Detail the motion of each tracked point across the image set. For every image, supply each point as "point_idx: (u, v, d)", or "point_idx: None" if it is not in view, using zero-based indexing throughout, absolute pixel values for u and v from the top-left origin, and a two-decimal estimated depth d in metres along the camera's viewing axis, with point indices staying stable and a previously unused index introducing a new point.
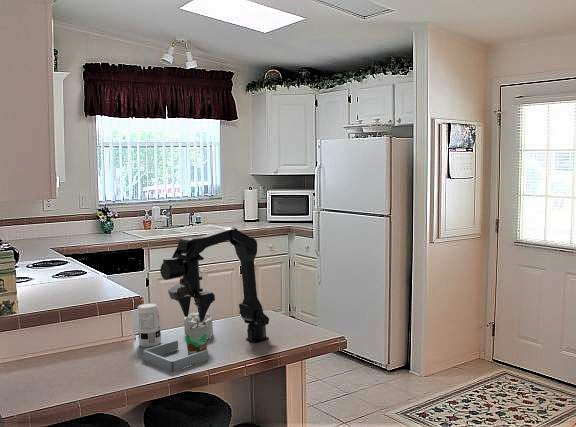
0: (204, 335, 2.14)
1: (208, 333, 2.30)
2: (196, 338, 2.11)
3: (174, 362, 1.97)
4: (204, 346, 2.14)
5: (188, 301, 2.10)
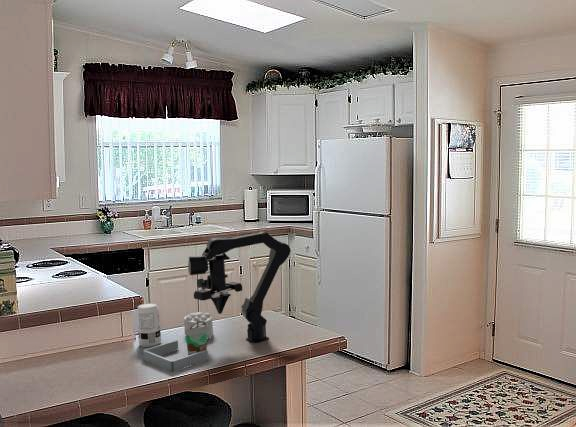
0: (204, 335, 2.14)
1: (208, 333, 2.30)
2: (196, 338, 2.11)
3: (174, 362, 1.97)
4: (204, 346, 2.14)
5: (222, 300, 2.20)
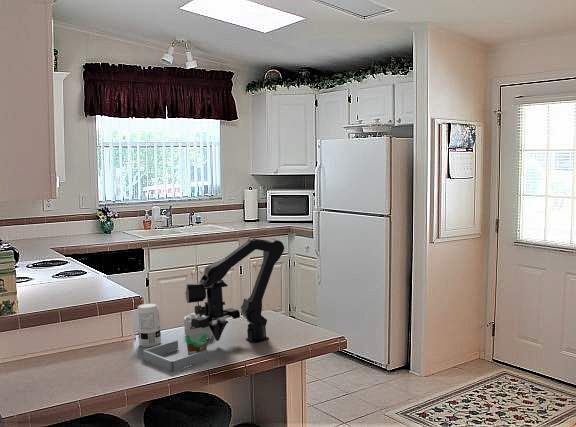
0: (204, 335, 2.14)
1: (208, 333, 2.30)
2: (196, 338, 2.11)
3: (174, 362, 1.97)
4: (204, 346, 2.14)
5: (220, 327, 2.20)
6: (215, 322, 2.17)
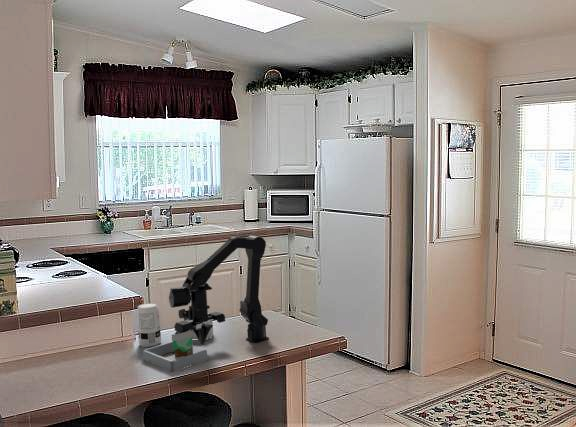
0: (190, 339, 2.09)
1: (208, 333, 2.30)
2: (183, 342, 2.06)
3: (174, 362, 1.97)
4: (191, 350, 2.09)
5: (204, 331, 2.15)
6: (199, 326, 2.13)
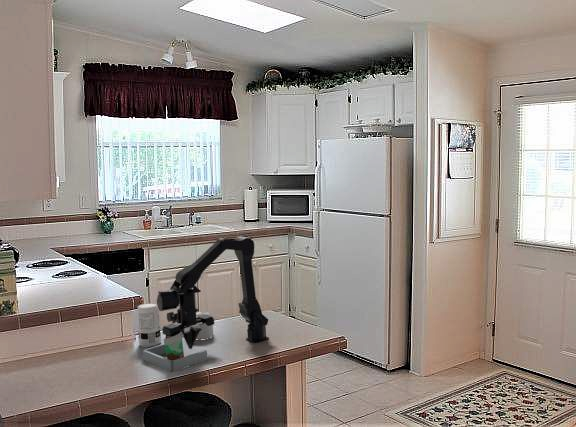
0: (181, 342, 2.06)
1: (208, 333, 2.30)
2: (175, 346, 2.02)
3: (174, 362, 1.97)
4: (182, 353, 2.06)
5: (192, 335, 2.12)
6: (188, 330, 2.09)
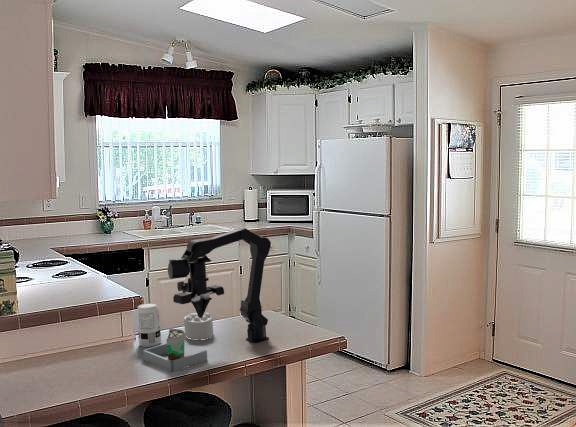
0: (183, 343, 2.06)
1: (208, 333, 2.30)
2: (177, 347, 2.02)
3: (174, 362, 1.97)
4: (183, 355, 2.06)
5: (203, 304, 2.14)
6: (198, 298, 2.12)
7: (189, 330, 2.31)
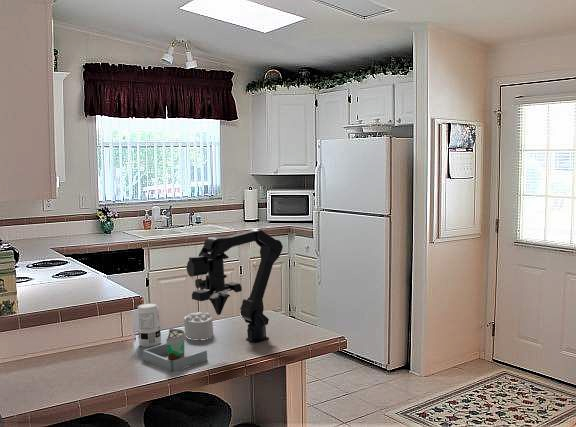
0: (183, 343, 2.06)
1: (208, 333, 2.30)
2: (177, 347, 2.02)
3: (174, 362, 1.97)
4: (183, 355, 2.06)
5: (221, 301, 2.15)
6: (216, 295, 2.12)
7: (189, 330, 2.31)
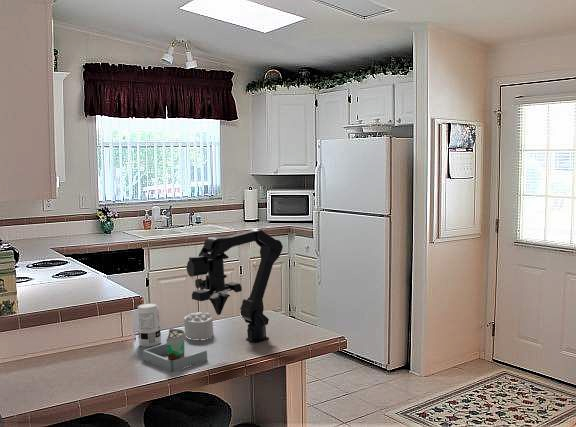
0: (183, 343, 2.06)
1: (208, 333, 2.30)
2: (177, 347, 2.02)
3: (174, 362, 1.97)
4: (183, 355, 2.06)
5: (221, 301, 2.15)
6: (216, 295, 2.12)
7: (189, 330, 2.31)
